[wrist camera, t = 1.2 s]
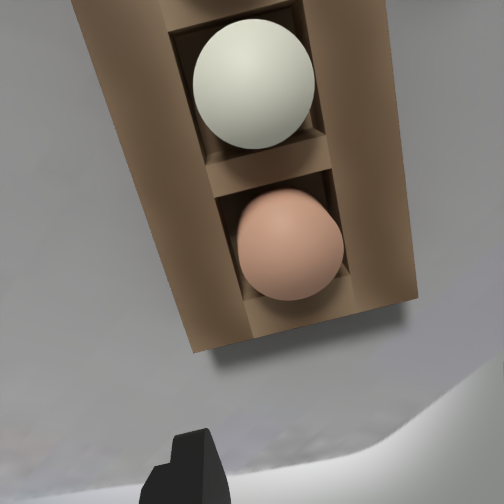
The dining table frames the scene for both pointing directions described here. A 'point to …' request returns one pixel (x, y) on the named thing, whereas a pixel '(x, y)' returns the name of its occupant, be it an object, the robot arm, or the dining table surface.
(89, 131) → the dining table surface
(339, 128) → the wooden slotted tray
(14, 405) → the dining table surface
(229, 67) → the cream button
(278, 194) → the terracotta button
